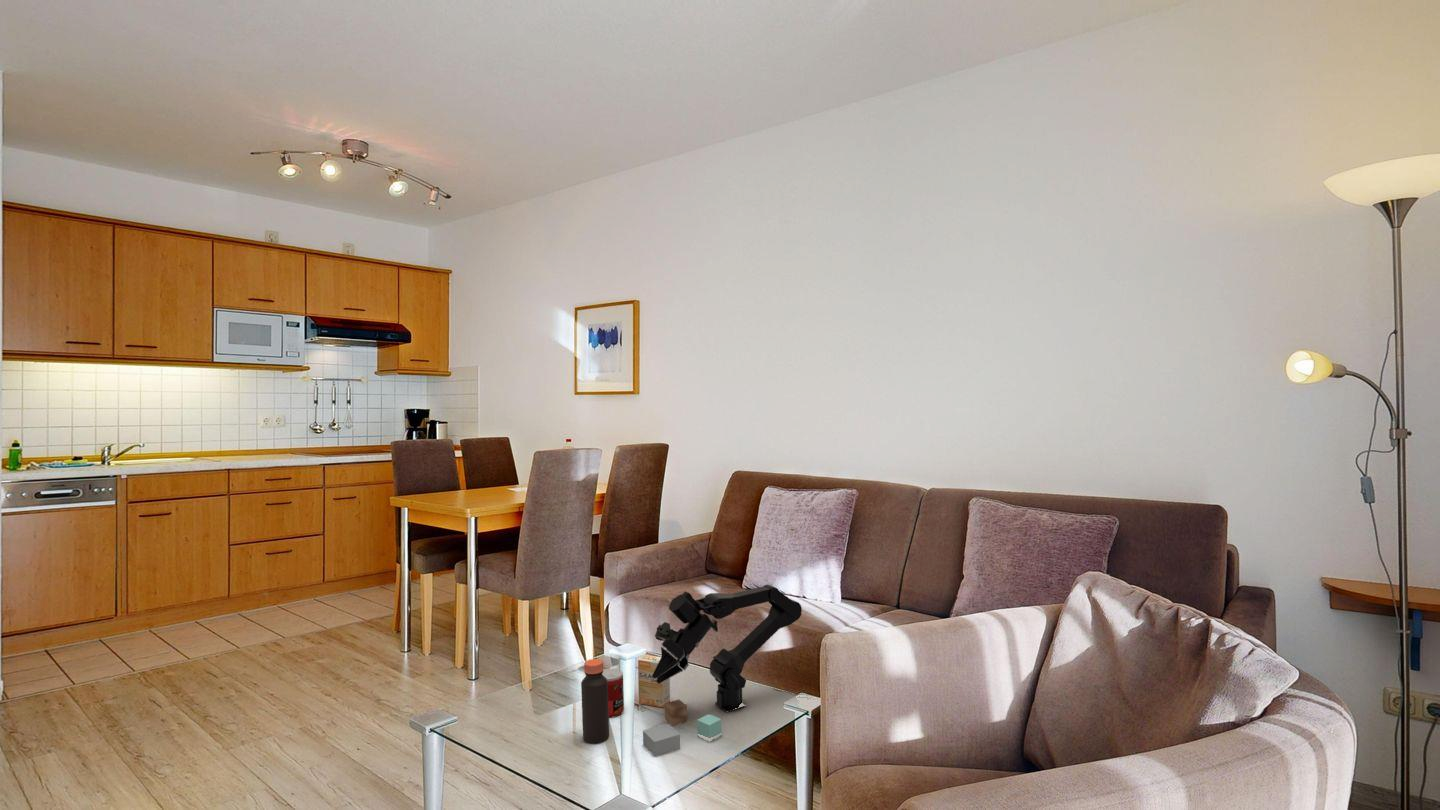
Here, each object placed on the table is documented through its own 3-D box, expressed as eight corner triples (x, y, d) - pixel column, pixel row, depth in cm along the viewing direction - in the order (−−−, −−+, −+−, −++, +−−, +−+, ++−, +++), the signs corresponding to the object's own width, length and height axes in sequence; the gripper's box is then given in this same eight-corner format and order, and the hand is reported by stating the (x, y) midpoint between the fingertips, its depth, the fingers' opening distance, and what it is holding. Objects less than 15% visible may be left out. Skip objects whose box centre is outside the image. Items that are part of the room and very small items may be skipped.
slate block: (667, 738, 194) (667, 723, 193) (680, 750, 188) (679, 734, 187) (643, 745, 190) (642, 730, 190) (655, 757, 184) (654, 741, 184)
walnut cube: (679, 715, 206) (678, 699, 206) (687, 721, 203) (686, 705, 202) (664, 719, 204) (664, 703, 204) (672, 725, 200) (672, 709, 200)
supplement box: (637, 704, 214) (636, 659, 213) (645, 697, 218) (644, 653, 218) (663, 708, 211) (662, 663, 210) (671, 701, 215) (669, 657, 215)
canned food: (618, 719, 205) (617, 679, 204) (591, 717, 206) (590, 678, 206) (627, 706, 212) (626, 668, 212) (601, 705, 214) (600, 667, 213)
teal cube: (709, 730, 197) (709, 714, 197) (721, 736, 194) (721, 719, 194) (697, 736, 194) (697, 719, 194) (709, 742, 191) (709, 725, 190)
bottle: (587, 746, 190) (585, 669, 189) (579, 735, 196) (577, 660, 195) (612, 740, 193) (610, 664, 192) (604, 729, 199) (602, 655, 198)
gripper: (674, 622, 216) (637, 666, 210) (667, 607, 199) (628, 654, 194) (703, 647, 212) (667, 692, 207) (699, 633, 196) (660, 682, 190)
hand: (655, 680), depth 199 cm, fingers open, 9 cm apart
